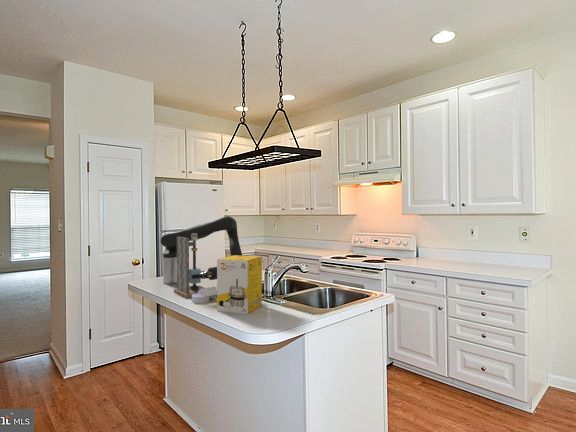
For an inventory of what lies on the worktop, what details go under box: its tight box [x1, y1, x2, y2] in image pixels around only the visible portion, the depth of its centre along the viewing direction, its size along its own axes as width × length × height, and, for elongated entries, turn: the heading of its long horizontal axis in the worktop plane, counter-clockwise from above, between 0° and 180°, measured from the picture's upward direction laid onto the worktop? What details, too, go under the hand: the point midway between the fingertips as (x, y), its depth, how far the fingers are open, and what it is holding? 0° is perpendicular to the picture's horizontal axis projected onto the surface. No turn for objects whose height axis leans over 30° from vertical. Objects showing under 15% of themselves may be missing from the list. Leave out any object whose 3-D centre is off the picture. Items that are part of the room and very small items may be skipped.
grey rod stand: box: [173, 233, 205, 299], centre depth 208 cm, size 18×16×35 cm
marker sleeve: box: [189, 267, 202, 285], centre depth 208 cm, size 5×5×8 cm
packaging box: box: [216, 255, 263, 315], centre depth 176 cm, size 16×16×25 cm
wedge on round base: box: [191, 286, 217, 304], centre depth 191 cm, size 9×7×13 cm
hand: (190, 276), depth 207 cm, fingers closed on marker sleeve, 5 cm apart
